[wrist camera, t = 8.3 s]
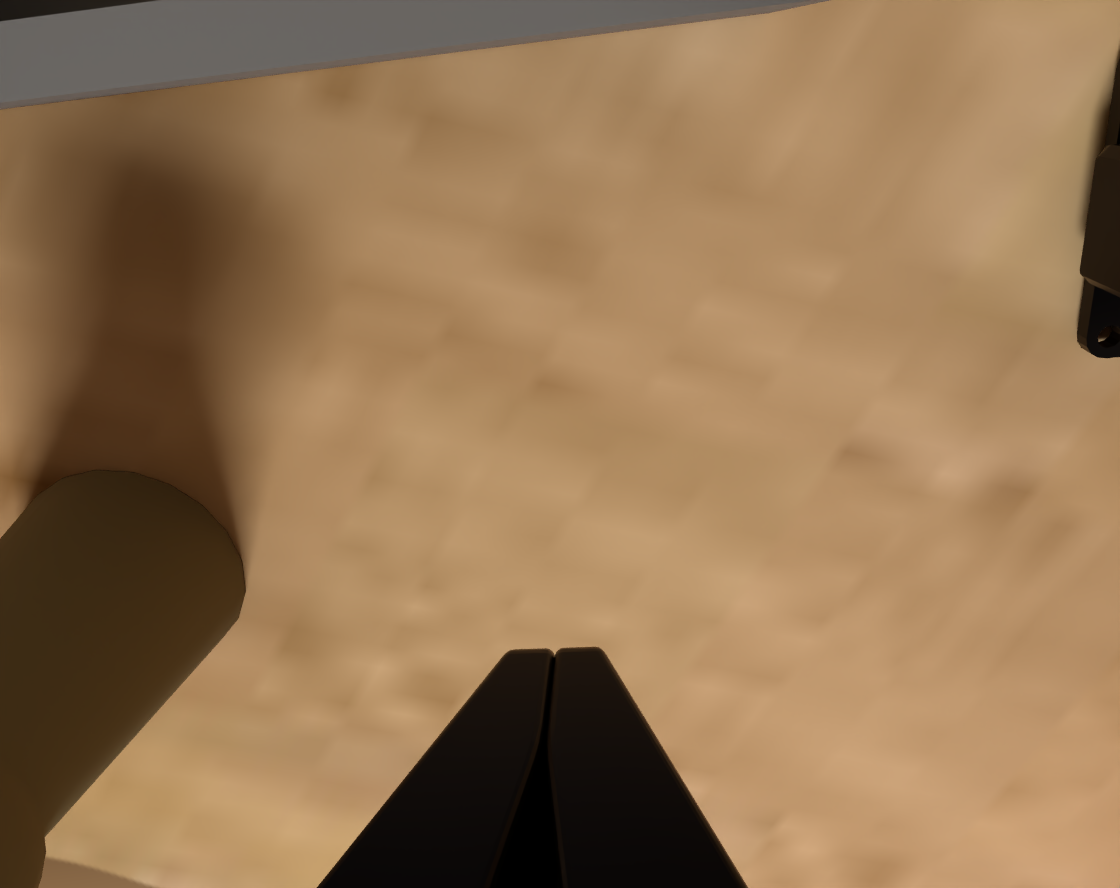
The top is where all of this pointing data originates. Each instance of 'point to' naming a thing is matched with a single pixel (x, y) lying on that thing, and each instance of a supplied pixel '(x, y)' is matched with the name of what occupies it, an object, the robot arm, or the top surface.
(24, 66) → the tray
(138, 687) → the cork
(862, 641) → the top surface
